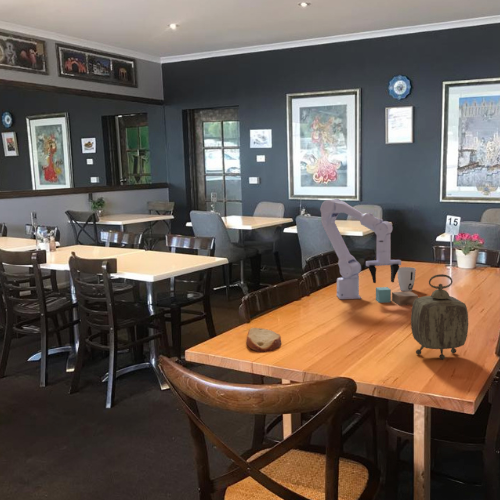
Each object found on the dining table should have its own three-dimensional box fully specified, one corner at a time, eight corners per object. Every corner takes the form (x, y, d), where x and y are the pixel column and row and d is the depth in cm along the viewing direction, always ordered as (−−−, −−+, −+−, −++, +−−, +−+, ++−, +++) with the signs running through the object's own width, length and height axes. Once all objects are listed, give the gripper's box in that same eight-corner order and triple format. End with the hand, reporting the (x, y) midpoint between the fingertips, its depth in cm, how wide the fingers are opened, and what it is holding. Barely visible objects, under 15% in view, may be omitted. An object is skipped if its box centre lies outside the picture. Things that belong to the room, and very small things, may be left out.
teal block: (378, 302, 232) (379, 290, 231) (375, 300, 237) (375, 287, 236) (390, 302, 232) (390, 289, 231) (387, 299, 237) (387, 287, 236)
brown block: (399, 306, 226) (399, 296, 226) (392, 301, 234) (392, 292, 234) (417, 305, 227) (418, 295, 227) (410, 300, 235) (410, 291, 234)
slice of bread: (256, 331, 197) (256, 321, 196) (298, 340, 185) (297, 329, 185) (222, 344, 183) (221, 334, 182) (265, 355, 172) (264, 343, 171)
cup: (411, 292, 248) (411, 270, 247) (394, 290, 253) (394, 269, 251) (418, 289, 254) (418, 267, 253) (401, 287, 259) (401, 266, 258)
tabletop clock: (457, 351, 169) (459, 271, 165) (470, 361, 160) (472, 276, 156) (410, 353, 168) (411, 272, 165) (420, 363, 159) (421, 278, 156)
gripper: (368, 252, 227) (368, 284, 229) (403, 251, 227) (403, 283, 229) (364, 250, 234) (364, 281, 236) (398, 248, 234) (398, 280, 236)
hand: (383, 282), depth 233 cm, fingers open, 7 cm apart
